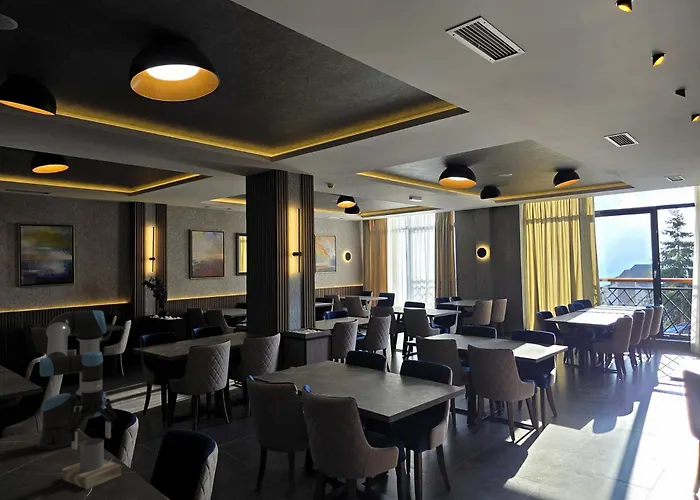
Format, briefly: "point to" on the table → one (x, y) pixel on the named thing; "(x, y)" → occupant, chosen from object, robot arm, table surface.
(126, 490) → the table surface
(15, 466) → the table surface
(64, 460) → the table surface
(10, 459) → the table surface
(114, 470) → the oak stand
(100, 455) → the cup
